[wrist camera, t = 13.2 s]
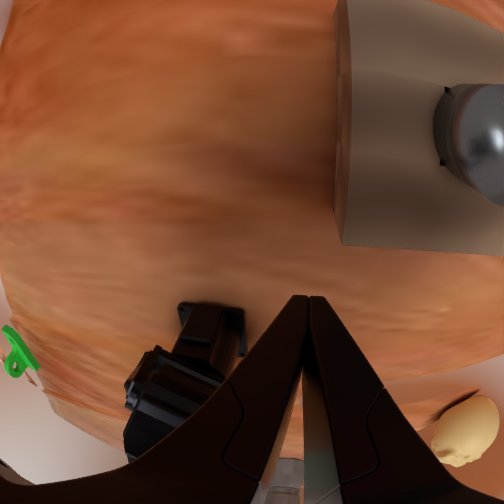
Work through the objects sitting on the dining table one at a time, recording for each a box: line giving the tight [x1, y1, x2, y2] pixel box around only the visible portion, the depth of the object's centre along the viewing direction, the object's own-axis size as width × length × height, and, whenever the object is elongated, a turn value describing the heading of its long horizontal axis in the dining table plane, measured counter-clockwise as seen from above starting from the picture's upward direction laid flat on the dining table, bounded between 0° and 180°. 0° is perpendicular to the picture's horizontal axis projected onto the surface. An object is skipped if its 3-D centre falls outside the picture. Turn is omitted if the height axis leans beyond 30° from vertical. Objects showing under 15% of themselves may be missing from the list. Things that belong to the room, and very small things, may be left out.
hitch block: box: [333, 0, 504, 256], centre depth 12 cm, size 14×14×6 cm
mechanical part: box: [2, 325, 40, 378], centre depth 43 cm, size 12×6×8 cm, turn 179°
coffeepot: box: [264, 458, 304, 504], centre depth 40 cm, size 15×9×18 cm, turn 32°
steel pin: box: [433, 84, 504, 206], centre depth 10 cm, size 5×5×8 cm
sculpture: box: [431, 395, 499, 467], centre depth 26 cm, size 11×12×11 cm
